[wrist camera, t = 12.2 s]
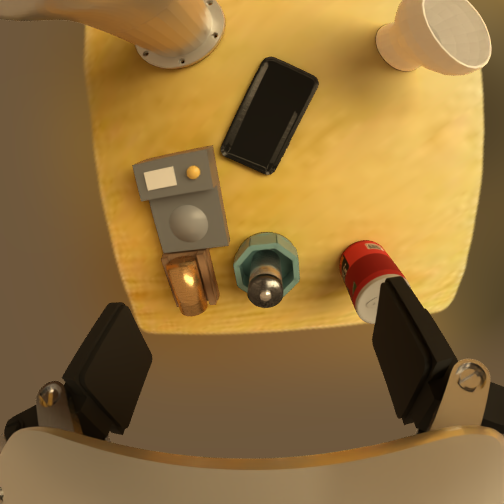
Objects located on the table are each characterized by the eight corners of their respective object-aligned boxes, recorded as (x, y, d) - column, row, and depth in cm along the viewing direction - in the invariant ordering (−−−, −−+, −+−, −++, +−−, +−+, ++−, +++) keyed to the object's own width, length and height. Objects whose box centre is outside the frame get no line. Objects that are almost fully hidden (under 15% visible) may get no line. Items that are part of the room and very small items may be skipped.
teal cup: (231, 235, 41) (229, 247, 38) (294, 228, 41) (297, 239, 37) (241, 287, 46) (240, 301, 42) (298, 281, 45) (301, 295, 41)
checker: (145, 159, 36) (130, 166, 32) (212, 145, 35) (205, 149, 31) (167, 247, 43) (157, 263, 38) (230, 239, 42) (225, 255, 37)
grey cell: (248, 251, 42) (244, 283, 34) (279, 247, 41) (281, 279, 33) (253, 276, 44) (250, 312, 36) (282, 273, 43) (285, 308, 35)
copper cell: (170, 257, 42) (162, 272, 38) (198, 254, 41) (191, 269, 37) (185, 302, 46) (178, 319, 42) (210, 300, 45) (205, 318, 41)
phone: (217, 153, 35) (266, 54, 29) (219, 152, 36) (266, 55, 30) (272, 177, 37) (322, 80, 30) (272, 176, 38) (320, 81, 31)
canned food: (330, 254, 42) (347, 296, 32) (374, 229, 40) (404, 265, 30) (348, 288, 45) (366, 333, 35) (389, 266, 43) (416, 306, 33)
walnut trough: (165, 250, 43) (159, 259, 41) (207, 245, 42) (204, 254, 40) (180, 296, 47) (176, 306, 45) (219, 294, 46) (217, 304, 44)
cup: (382, 85, 30) (442, 77, 17) (354, 19, 26) (398, -21, 12) (438, 76, 28) (505, 73, 15) (413, 14, 24) (470, -13, 10)
